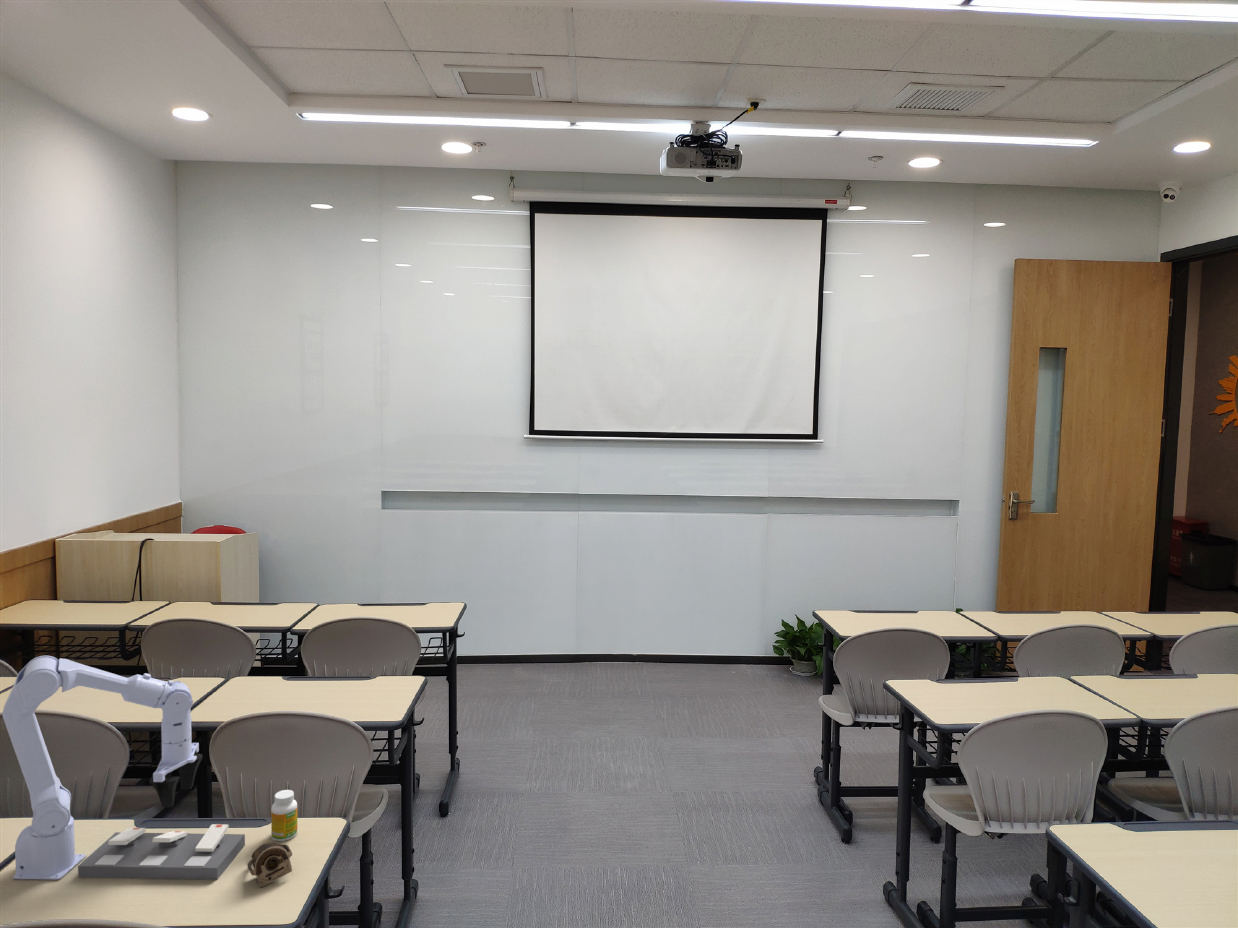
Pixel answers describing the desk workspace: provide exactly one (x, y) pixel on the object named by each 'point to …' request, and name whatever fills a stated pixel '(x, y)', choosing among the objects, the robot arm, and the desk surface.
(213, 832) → the rocker right
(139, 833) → the rocker left
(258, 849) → the mechanical counter
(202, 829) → the desk surface
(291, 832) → the supplement bottle
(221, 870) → the rocker switch panel
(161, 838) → the rocker middle
